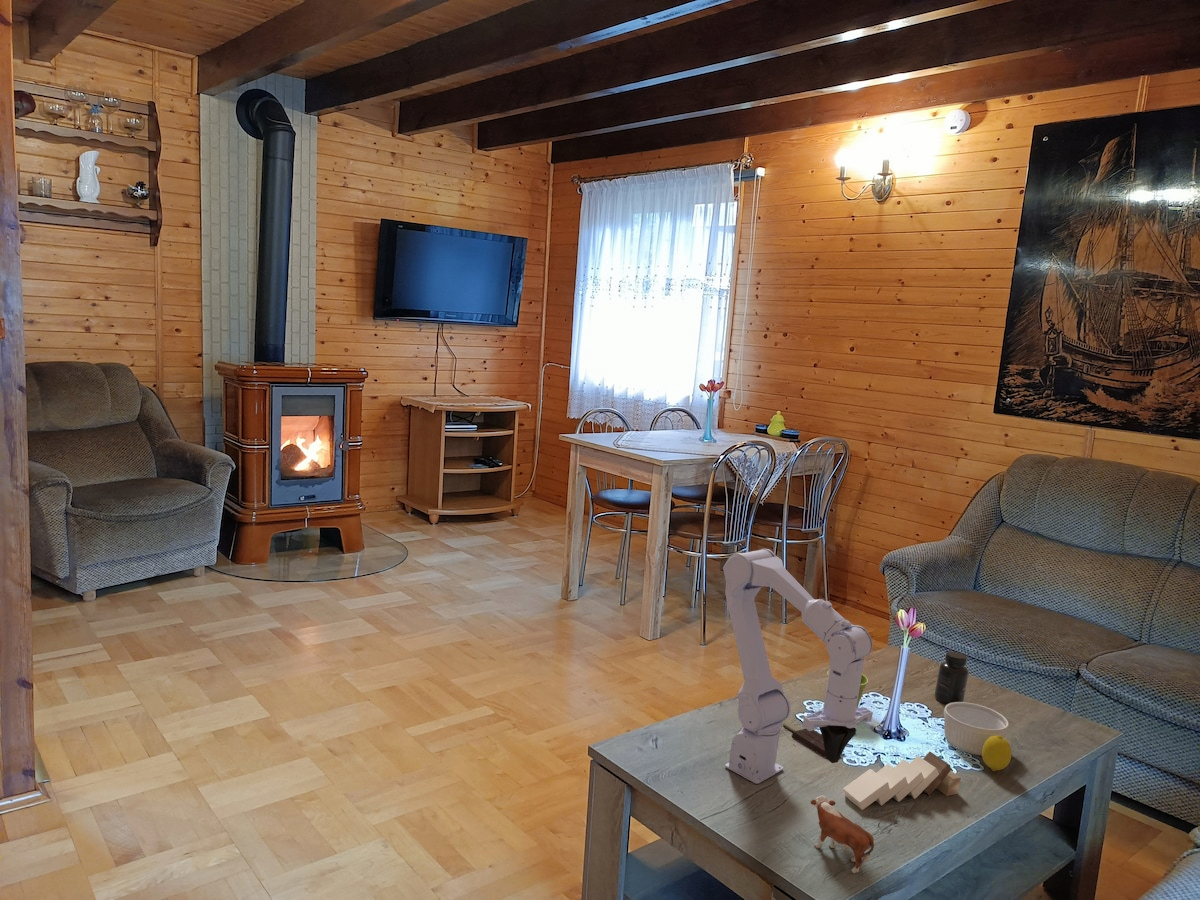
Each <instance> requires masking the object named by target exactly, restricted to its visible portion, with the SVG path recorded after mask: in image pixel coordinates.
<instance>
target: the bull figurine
mask: <svg viewBox="0 0 1200 900" xmlns="http://www.w3.org/2000/svg"><path fill="white" fill-rule="evenodd" d="M836 803H837V802H836V801H835V800H828V797H827V796H826V795H819V796H816V797H815V799H811V801H810V804H811V805H812V806H814V807H816V809H817V810H816V813H817V816H818V825H819V828H820V836H819V838H818V839H819V840H818V841H817V843H815V844H814V846H813V847H814V848H816V849H823V843H824V842H825V841H826V838H830V839H831V842H830V844H828V847H829V848H830V849H834V848H837V845H836V843H837V844H839V845H840V846H842V847H843V850H847V849H848V848H850V849H851V850H852V852H853V856H852V857H850V858H849V859H850V861H851V862H852V863H855V866H854V867H852V869H851V870H850V873H852V874H856V873H859V872H860V868H861V865H862V864H863V863H866V862H868V860H869V858H870V856H871V853H872V852H873V851H874V848H875V842H874V836H873V835H872V834H871V833H870V832H868V831H867V830H865V829H864V827H862V826H860V825H858V824H856V823H854V822H852V820H851V819H849V818H847V817H845V815H843V814H842V813H841V812H840V811H839V810H837V809H835V808H834V806H835V805H836ZM867 850H868V851H867Z"/></svg>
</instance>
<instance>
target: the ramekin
mask: <svg viewBox="0 0 1200 900" xmlns="http://www.w3.org/2000/svg"><path fill="white" fill-rule="evenodd" d="M943 716H944V729H943V732H944V733H943V734H944V736H945V738H946V740H947V742H948V741H949V742H950V743H951V744H952V745H951V744H950V743H949V742H948V743H949V744H950V745H951V746H953V745H954V746H955V747H954V746H953V747H954V748H956V747H957V748H959V749H961V750H960V751H962V750H963V751H962V752H964V751H966V752H965V753H967V752H968V753H967V754H970V753H971V755H974V754H975V755H974V756H980V755H981V757H982V749H983V745H984V743H985V741H986V740H987V739H988V738H989V737H991V736H998V735H1001V736H1002V737H1003V738H1004V739H1005V737H1006V733H1007V732H1008V730H1009V721H1008V719H1007V718H1006V717H1005V716H1004V715H1002V714H1001V713H999V712H997V710H995V709H992V708H989V707H987V706H984V705H981V704H978V703H972V702H966V701H964V702H954V703H950V704H948V705H947V704H945V706H944V709H943ZM957 748H956V749H957ZM959 749H958V750H959Z"/></svg>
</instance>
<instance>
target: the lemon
mask: <svg viewBox="0 0 1200 900" xmlns="http://www.w3.org/2000/svg"><path fill="white" fill-rule="evenodd" d="M981 757H982V760H983V762H984V764H985V765H986V766H987V767H988V768H990V769H991V771H993V772H996V771H1000V770H1003V769H1005V768H1007V767H1008V766H1009V764H1010V761H1011V758H1012V748H1011V745H1010V743H1009V741H1008V740H1007V739H1006V738H1005V737H1004V738H1003V737H1002V736H1001V735H998V736H991V737H989V738H988V739H987V740H986V741H985V743H984V745H983V749H982V756H981Z"/></svg>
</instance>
